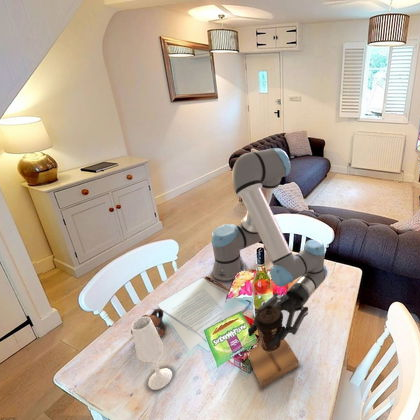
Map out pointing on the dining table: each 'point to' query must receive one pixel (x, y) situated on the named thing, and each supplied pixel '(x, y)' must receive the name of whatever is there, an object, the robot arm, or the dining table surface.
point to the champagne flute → (150, 350)
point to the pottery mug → (157, 321)
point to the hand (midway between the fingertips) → (260, 339)
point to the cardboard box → (272, 362)
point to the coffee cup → (268, 326)
